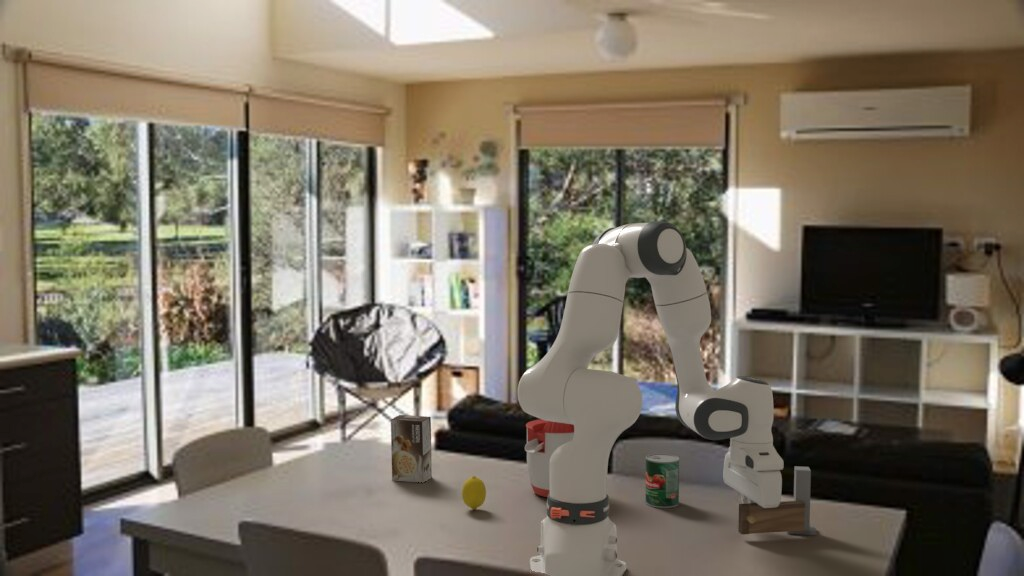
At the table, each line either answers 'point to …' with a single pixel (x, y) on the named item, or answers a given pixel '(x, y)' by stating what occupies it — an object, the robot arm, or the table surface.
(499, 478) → the table surface
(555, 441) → the citrus juicer
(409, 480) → the coffee box
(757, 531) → the gate leaf
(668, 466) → the canned tomato
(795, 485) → the gatepost
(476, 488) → the lemon
